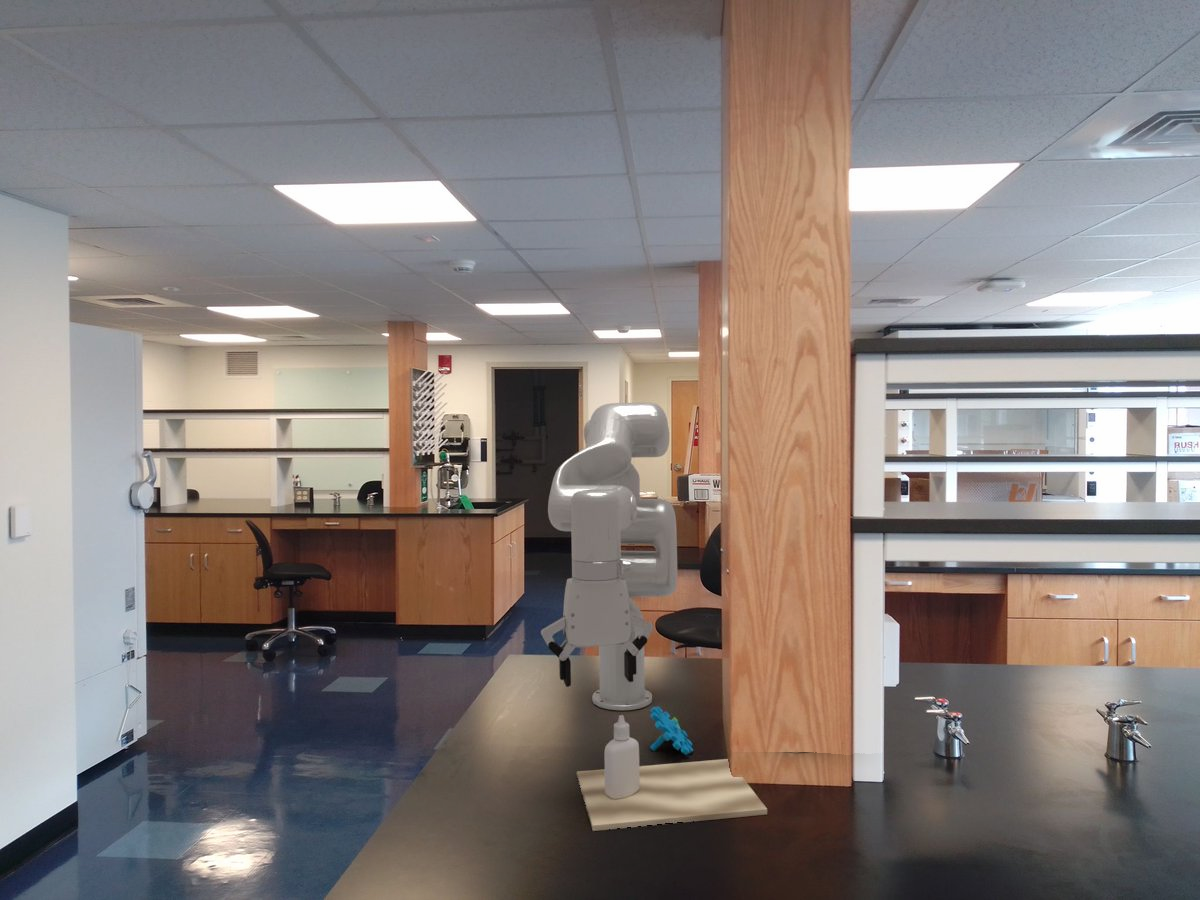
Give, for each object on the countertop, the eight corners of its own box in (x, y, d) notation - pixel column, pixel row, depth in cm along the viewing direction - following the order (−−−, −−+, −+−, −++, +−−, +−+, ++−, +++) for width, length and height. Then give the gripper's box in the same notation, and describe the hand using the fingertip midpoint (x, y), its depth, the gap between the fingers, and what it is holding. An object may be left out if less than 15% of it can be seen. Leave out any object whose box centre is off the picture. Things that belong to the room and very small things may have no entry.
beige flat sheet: (576, 776, 129) (576, 771, 129) (728, 763, 133) (728, 758, 133) (592, 831, 111) (592, 825, 111) (767, 814, 115) (767, 809, 115)
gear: (691, 756, 132) (650, 710, 135) (666, 779, 133) (626, 733, 136) (699, 740, 143) (662, 697, 146) (677, 761, 144) (639, 719, 146)
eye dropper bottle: (602, 787, 123) (601, 712, 123) (637, 785, 124) (636, 709, 123) (606, 800, 119) (605, 722, 118) (642, 797, 119) (641, 719, 119)
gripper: (645, 564, 125) (647, 670, 125) (537, 569, 122) (539, 678, 122) (657, 572, 117) (659, 685, 118) (542, 577, 114) (544, 694, 115)
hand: (598, 681), depth 120 cm, fingers open, 9 cm apart
